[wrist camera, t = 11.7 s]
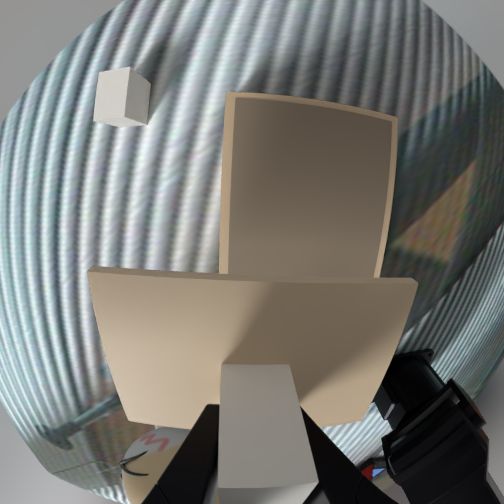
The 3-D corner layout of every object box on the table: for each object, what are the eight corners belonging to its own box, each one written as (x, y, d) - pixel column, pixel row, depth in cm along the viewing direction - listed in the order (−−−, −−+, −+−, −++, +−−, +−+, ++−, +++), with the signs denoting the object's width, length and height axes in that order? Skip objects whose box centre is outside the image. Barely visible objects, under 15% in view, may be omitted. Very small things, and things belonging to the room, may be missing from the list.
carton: (373, 122, 16) (398, 117, 13) (349, 305, 21) (366, 329, 17) (228, 104, 16) (226, 91, 12) (221, 305, 20) (219, 332, 17)
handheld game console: (351, 486, 35) (360, 514, 28) (308, 488, 33) (315, 520, 26) (397, 454, 32) (411, 485, 25) (356, 456, 30) (369, 493, 23)
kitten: (149, 345, 21) (92, 505, 7) (261, 375, 23) (280, 536, 8) (137, 431, 25) (112, 534, 11) (217, 451, 27) (215, 555, 13)
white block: (205, 80, 15) (196, 57, 11) (199, 171, 17) (187, 173, 13) (84, 93, 15) (52, 82, 11) (79, 174, 17) (44, 180, 13)
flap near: (411, 277, 7) (506, 360, 3) (358, 413, 10) (392, 495, 5) (93, 266, 7) (-4, 363, 3) (130, 413, 9) (105, 503, 5)
